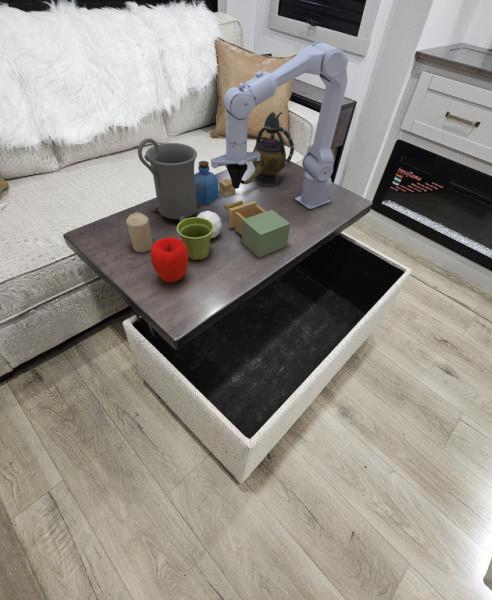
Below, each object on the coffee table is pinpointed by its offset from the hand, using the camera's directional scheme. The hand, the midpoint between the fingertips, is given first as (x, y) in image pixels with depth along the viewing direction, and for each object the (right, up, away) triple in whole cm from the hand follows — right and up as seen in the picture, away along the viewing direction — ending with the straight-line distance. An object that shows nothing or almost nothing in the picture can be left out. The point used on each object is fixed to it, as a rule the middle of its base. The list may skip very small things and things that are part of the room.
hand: (235, 187), depth 100 cm
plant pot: (-10, -21, -8) cm, 25 cm away
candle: (-25, -19, -7) cm, 33 cm away
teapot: (+8, +9, +22) cm, 25 cm away
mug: (-19, -8, +4) cm, 21 cm away
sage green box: (+9, -18, -3) cm, 20 cm away
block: (-4, +3, +16) cm, 17 cm away
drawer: (+2, -11, +2) cm, 11 cm away
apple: (-15, -28, -15) cm, 36 cm away
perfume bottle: (-11, 0, +13) cm, 17 cm away
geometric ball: (-8, -15, -2) cm, 17 cm away
